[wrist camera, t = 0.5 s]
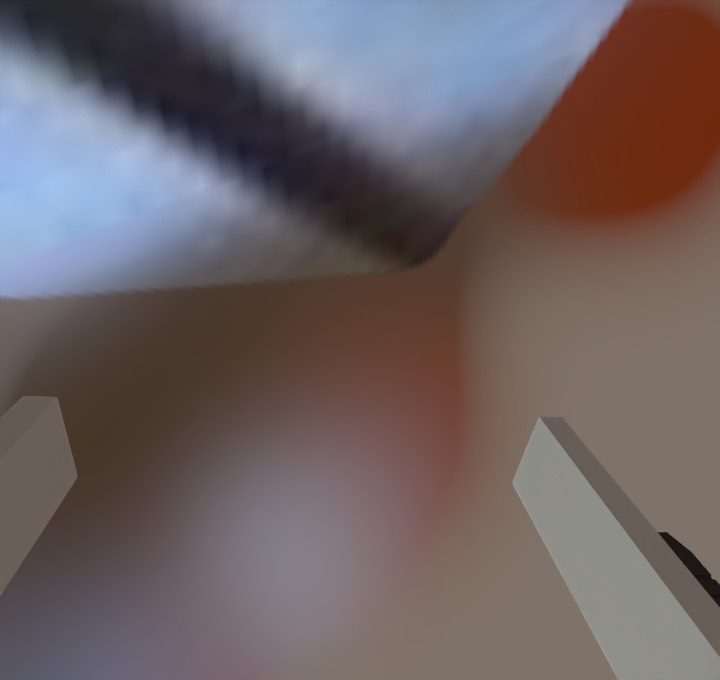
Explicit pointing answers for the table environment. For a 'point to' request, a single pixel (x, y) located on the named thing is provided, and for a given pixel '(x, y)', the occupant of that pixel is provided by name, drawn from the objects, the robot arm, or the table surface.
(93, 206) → the table surface
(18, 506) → the robot arm
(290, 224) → the table surface
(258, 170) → the table surface
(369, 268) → the table surface
